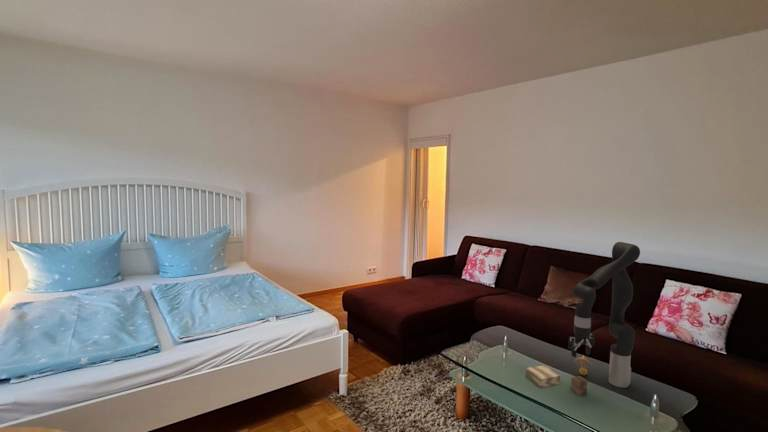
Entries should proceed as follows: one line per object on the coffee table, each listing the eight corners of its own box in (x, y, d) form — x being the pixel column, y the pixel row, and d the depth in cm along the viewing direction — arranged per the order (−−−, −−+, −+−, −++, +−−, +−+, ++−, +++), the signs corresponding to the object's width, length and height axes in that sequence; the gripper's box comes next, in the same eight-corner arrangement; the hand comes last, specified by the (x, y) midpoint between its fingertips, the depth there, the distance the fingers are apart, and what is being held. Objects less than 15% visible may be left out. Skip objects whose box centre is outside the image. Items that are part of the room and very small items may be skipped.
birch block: (544, 373, 219) (544, 365, 218) (559, 384, 207) (559, 375, 207) (525, 376, 216) (526, 368, 215) (539, 388, 204) (540, 379, 204)
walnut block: (578, 388, 203) (579, 375, 203) (586, 393, 199) (587, 380, 198) (571, 390, 202) (571, 377, 201) (578, 395, 197) (579, 382, 196)
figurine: (592, 375, 216) (593, 354, 214) (590, 380, 211) (591, 359, 209) (575, 371, 221) (576, 350, 219) (573, 375, 216) (574, 354, 214)
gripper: (588, 320, 202) (586, 350, 204) (565, 323, 197) (563, 354, 199) (599, 325, 194) (598, 356, 196) (576, 329, 190) (574, 361, 192)
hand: (580, 355), depth 198 cm, fingers open, 8 cm apart
